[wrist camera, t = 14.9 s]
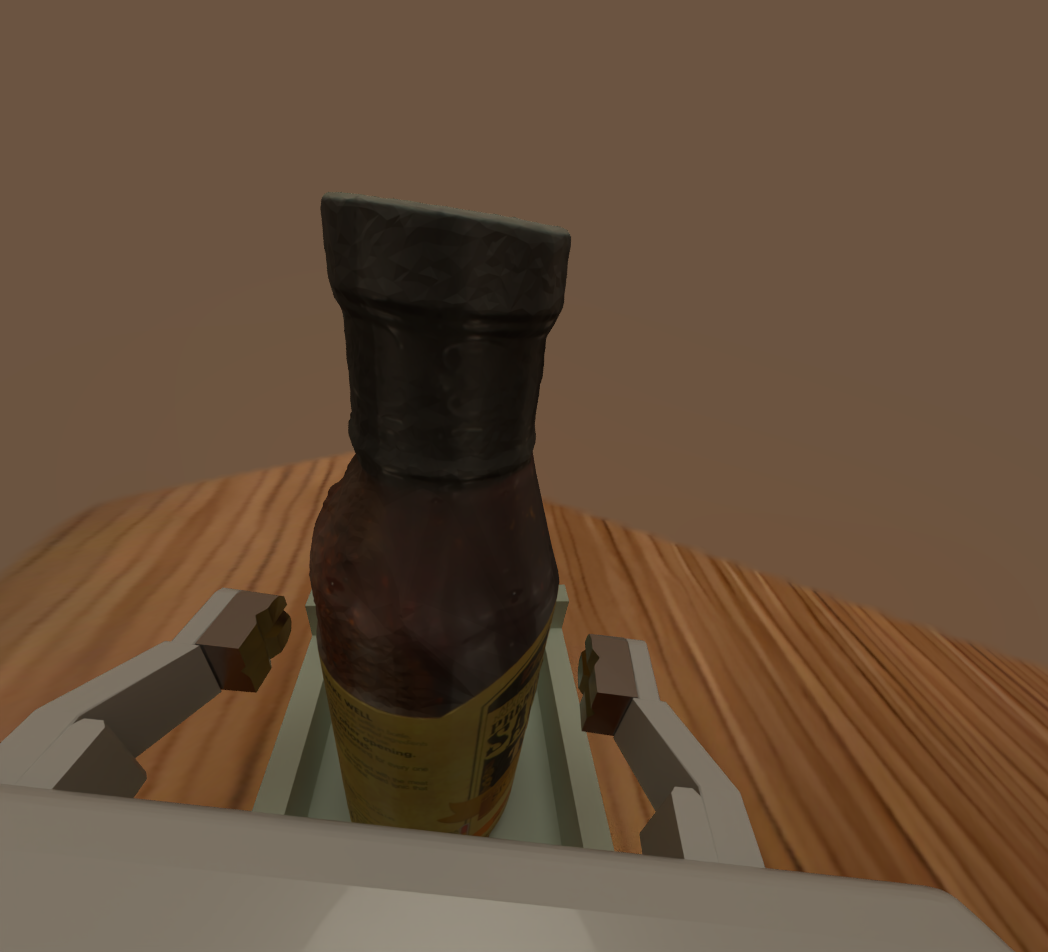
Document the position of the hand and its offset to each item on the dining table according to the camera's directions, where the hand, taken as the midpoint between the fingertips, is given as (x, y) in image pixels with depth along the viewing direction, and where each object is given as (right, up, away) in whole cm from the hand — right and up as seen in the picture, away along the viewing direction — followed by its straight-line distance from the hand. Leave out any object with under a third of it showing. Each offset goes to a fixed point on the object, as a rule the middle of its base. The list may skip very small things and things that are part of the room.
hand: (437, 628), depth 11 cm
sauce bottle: (-1, -8, +6) cm, 11 cm away
